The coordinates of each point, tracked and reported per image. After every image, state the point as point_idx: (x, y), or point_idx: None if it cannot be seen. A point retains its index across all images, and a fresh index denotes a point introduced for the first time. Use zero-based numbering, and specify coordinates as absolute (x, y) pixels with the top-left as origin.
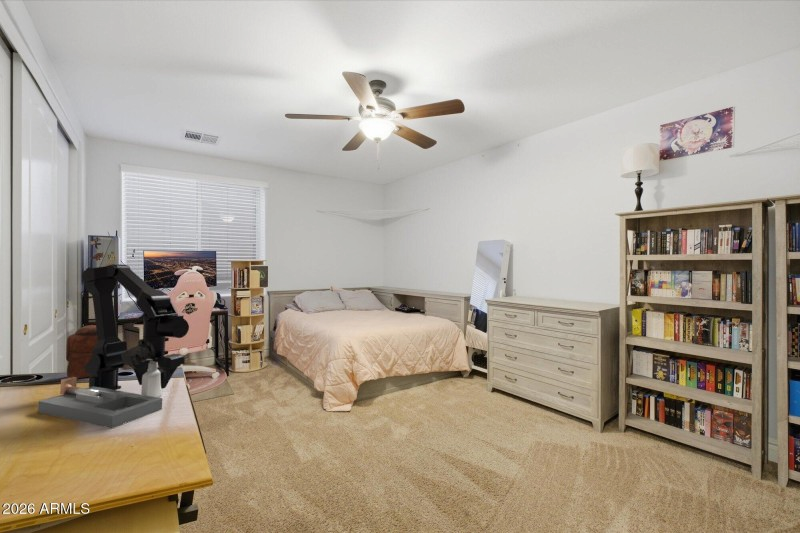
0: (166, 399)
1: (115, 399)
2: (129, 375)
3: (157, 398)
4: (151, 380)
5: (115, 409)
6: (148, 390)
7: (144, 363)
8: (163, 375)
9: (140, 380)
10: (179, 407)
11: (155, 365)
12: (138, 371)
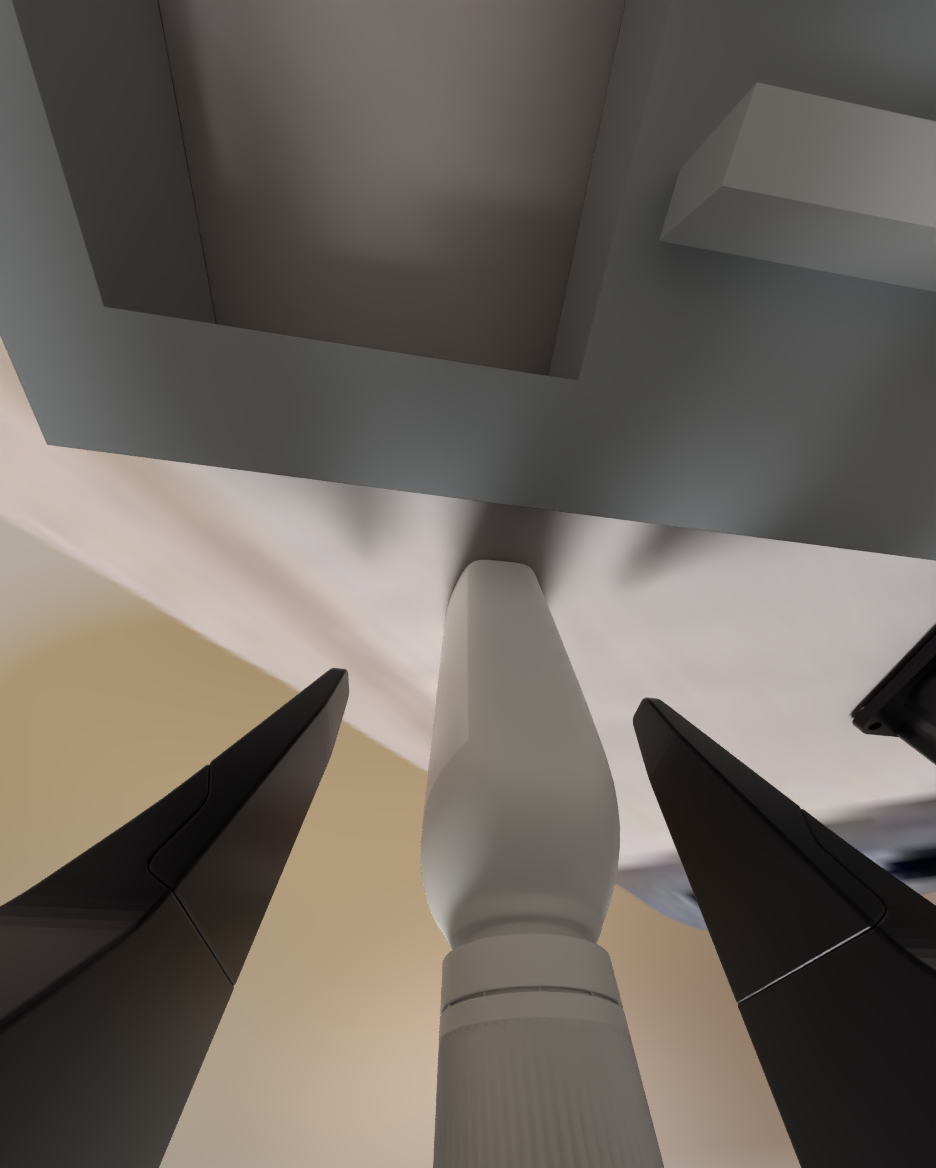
0: (361, 627)
1: (635, 163)
2: (893, 852)
3: (91, 419)
4: (444, 724)
5: (576, 247)
6: (461, 616)
7: (857, 1116)
8: (132, 827)
9: (673, 740)
10: (81, 511)
11: (442, 1151)
12: (802, 877)
